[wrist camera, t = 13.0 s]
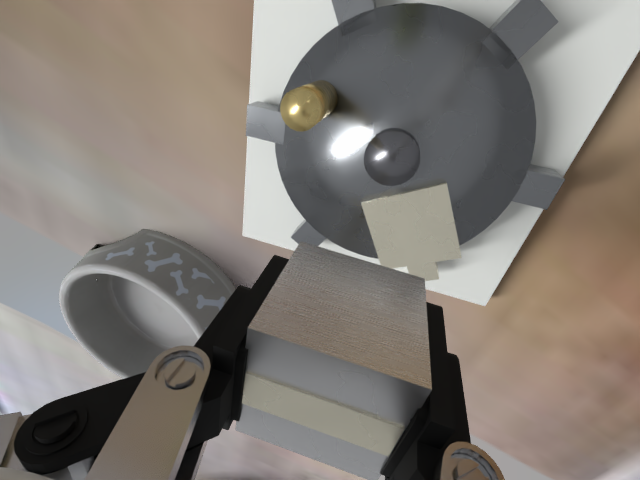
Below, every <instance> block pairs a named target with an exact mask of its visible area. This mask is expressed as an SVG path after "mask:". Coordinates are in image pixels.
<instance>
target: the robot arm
mask: <svg viewBox="0 0 640 480" xmlns="http://www.w3.org/2000/svg"><path fill="white" fill-rule="evenodd" d="M288 261H289V259H286V258H283V257H279V256H276V255H274V256H273V257H272V259H271V260H270V262H269V263H268V265H267V266H266V268H265V269H264V271H263V272H262V274H261V275H260V277H259V278H258V280H257V281H256V283H255V284H254V285H253V287H252V288H251V289H250V288H247V287H244V286H241V285H240V286H238V287H237V289H236V290H235V291H234V292H233V294H232V295H231V296H230V298H229V299H228V300H227V302H226V303H225V304H224V306H223V307H222V309H221V310H220V311H219V313H218V314H217V315H216V317H215V318H214V319H213V321H212V322H211V323H210V325H209V326H208V327H207V329H206V330H205V331H204V333H203V334H202V336H201V337H200V338H199V340H198V341H197V342H196V344H195V345H194V346H184V345H182V346H177V347H172V348H170V349H168V350H166V351H164V352H162V353H161V354H160V355H158V356H157V357H156V358H155V359H154V361H153V362H152V363H151V365H150V366H149V368H148V370H147V372H144V373H141V374H137V375H134V376H131V377H128V378H125V379H121V380H118V381H115V382H112V383H109V384H105V385H102V386H99V387H96V388H93V389H89V390H86V391H83V392H80V393H77V394H73V395H70V396H67V397H64V398H61V399H58V400H55V401H53V402H50V403H48V404H46V405H44V406H43V407H41V408H40V409H38V410H37V411H35V412H34V413H33V414H30V415H24V416H22V414H21V412H17V413H11V414H5V415H0V480H195V478H196V475H197V471H198V468H199V465H200V462H201V459H202V456H203V453H204V450H205V447H206V444H207V441H208V440H209V439H211V438H214V437H216V436H218V435H219V434H220V432H221V430H222V428H223V429H226V430H229V428H230V426H231V423H232V421H233V420H236V421H239V420H240V412H241V404H242V396H243V388H244V381H245V373H246V365H247V357H248V350H249V349H246V348H245V346H246V338H247V329H248V326H249V325H250V323H251V321H252V320H253V318H254V317H255V315H256V313H257V312H258V310H259V308H260V307H261V305H262V303H263V302H264V300H265V299H266V297H267V295H268V294H269V292H270V290H271V289H272V287H273V285H274V284H275V282H276V281H277V279H278V277H279V276H280V274H281V272H282V271H283V269H284V267H285V266H286V264H287V263H288ZM426 306H427V321H428V337H429V352H430V367H431V383H432V391H431V392H430V394H429V396H428V397H427V399H426V401H425V402H424V404H423V406H422V407H421V409H420V408H418V409H417V411H416V413H415V414H414V416H413V418H412V419H411V421H410V423H409V424H408V426H407V428H406V430H405V431H404V433H403V435H402V436H401V438H400V440H399V441H398V443H397V445H396V446H395V448H394V450H393V451H392V453H391V455H390V457H389V458H388V460H387V462H386V463H385V465H384V467H383V468H382V470H381V472H380V474H382V475H384V476H385V480H505V479H504V477H503V475H502V473H501V471H500V469H499V467H498V466H497V465H496V463H495V462H494V460H493V459H492V458H491V457H490V456H489V455H488V454H487V453H486V452H485V451H483V450H481V449H480V448H479V447H477V446H476V445H472V444H471V442H470V434H469V427H468V420H467V413H466V406H465V399H464V392H463V385H462V378H461V371H460V364H459V359H458V357H457V356H456V355H454V354H451V353H448V352H447V345H446V335H445V326H444V317H443V309H442V307H441V306H438V305H434V304H431V303H428V302H426Z"/></svg>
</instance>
